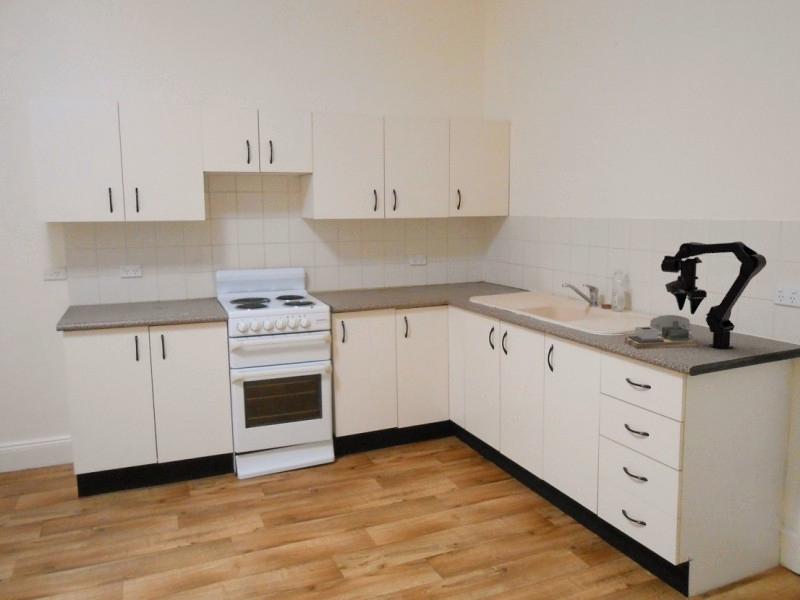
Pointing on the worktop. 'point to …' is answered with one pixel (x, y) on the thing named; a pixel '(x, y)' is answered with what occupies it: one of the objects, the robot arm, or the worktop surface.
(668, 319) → the grey arched bracket
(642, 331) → the collar
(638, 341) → the mat
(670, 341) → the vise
